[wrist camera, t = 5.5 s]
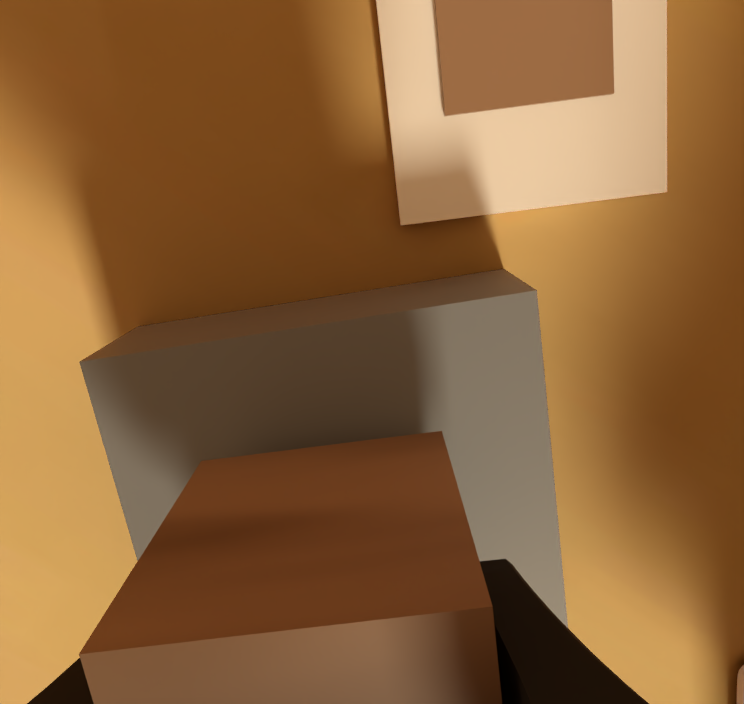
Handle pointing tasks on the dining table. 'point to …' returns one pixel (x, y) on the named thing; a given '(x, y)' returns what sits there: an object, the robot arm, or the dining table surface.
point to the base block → (347, 401)
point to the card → (523, 103)
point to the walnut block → (306, 587)
